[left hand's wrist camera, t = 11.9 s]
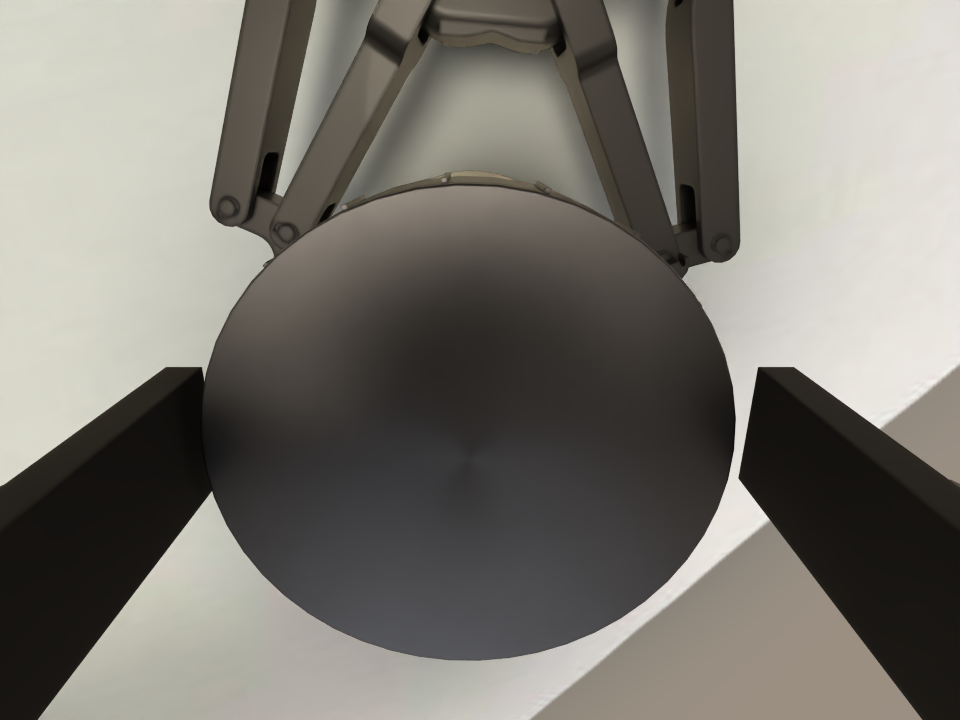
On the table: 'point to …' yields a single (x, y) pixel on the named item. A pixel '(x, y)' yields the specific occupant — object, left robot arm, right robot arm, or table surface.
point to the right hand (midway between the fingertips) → (463, 430)
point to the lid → (468, 420)
